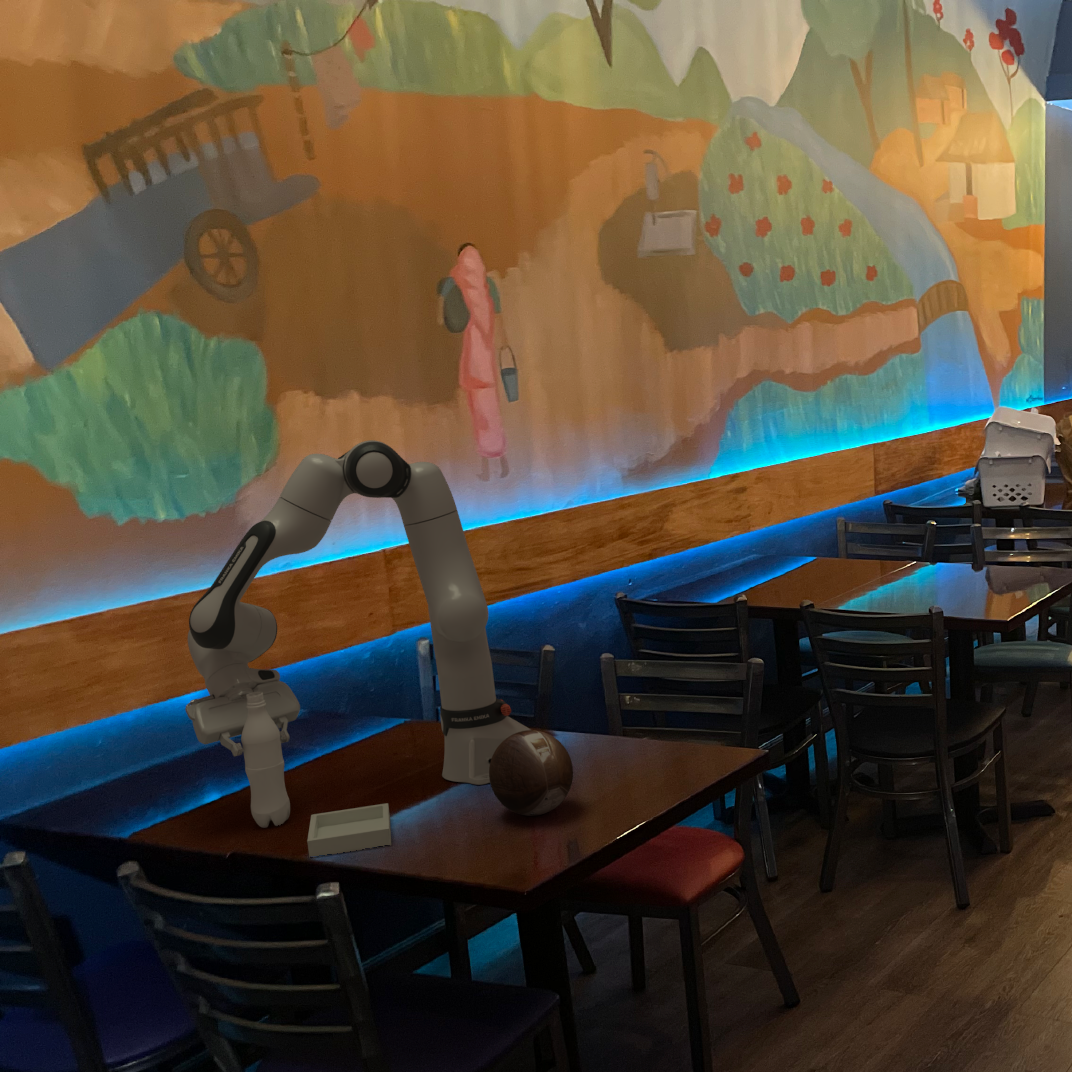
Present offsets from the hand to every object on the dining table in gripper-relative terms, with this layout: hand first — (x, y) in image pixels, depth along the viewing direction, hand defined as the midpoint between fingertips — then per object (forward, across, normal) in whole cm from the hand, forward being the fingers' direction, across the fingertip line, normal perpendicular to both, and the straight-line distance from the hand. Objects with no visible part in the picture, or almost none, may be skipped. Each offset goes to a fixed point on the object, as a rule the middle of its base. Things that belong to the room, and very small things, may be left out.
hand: (262, 747), depth 226 cm
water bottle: (+10, 0, +11) cm, 15 cm away
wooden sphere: (+38, +33, -17) cm, 53 cm away
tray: (+25, +6, -4) cm, 26 cm away
